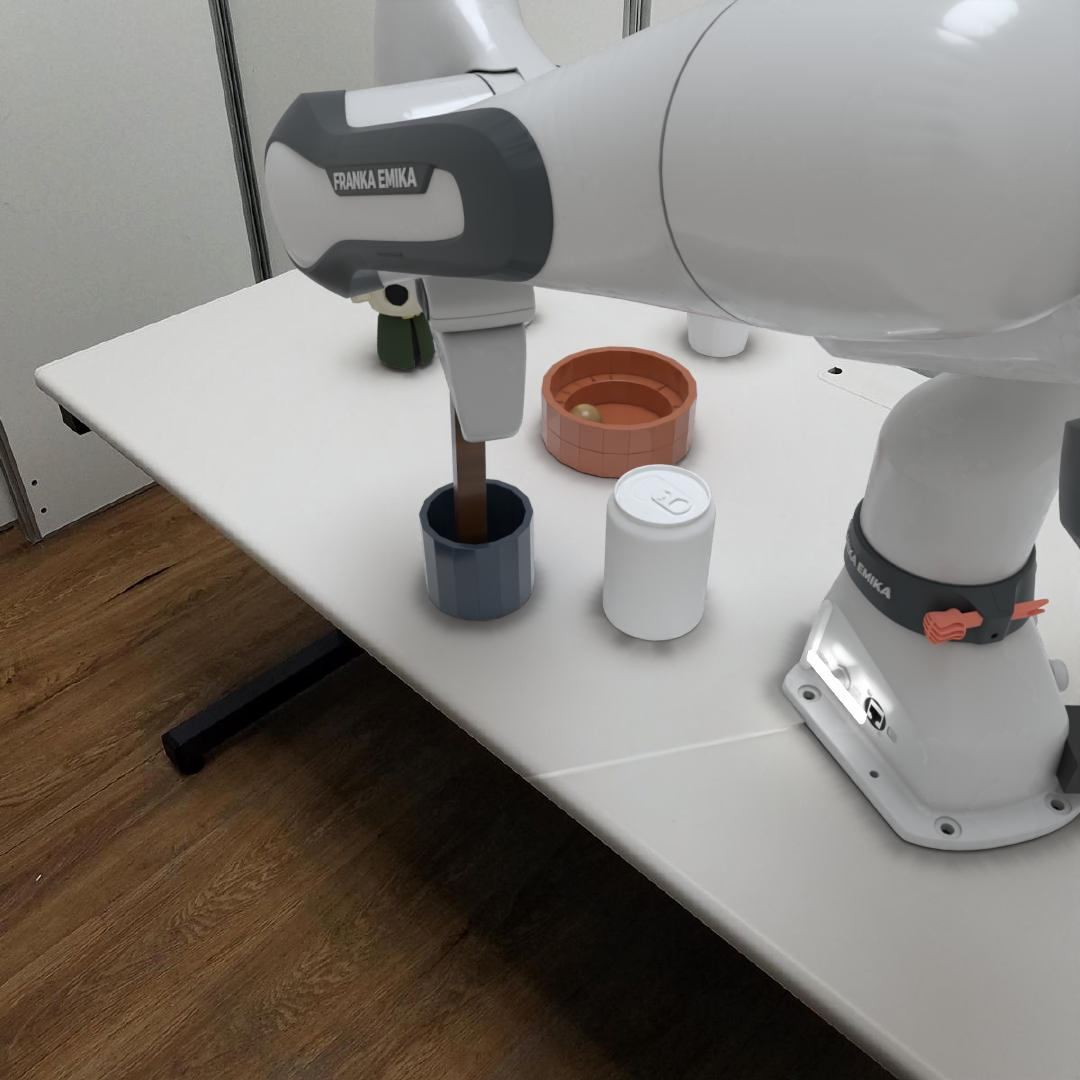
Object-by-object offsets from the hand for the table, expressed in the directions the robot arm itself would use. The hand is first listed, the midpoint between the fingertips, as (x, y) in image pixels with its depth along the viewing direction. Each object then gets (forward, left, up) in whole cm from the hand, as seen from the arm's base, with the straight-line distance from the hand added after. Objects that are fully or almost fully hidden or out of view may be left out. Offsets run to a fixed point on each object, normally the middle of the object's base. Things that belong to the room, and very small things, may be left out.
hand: (469, 420), depth 78 cm
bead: (+18, -14, -14) cm, 27 cm away
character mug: (+38, +1, -17) cm, 42 cm away
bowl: (+18, -17, -17) cm, 30 cm away
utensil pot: (0, 0, -17) cm, 17 cm away
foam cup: (+33, -33, -17) cm, 50 cm away
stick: (0, +1, -16) cm, 16 cm away
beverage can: (-6, -13, -17) cm, 22 cm away
